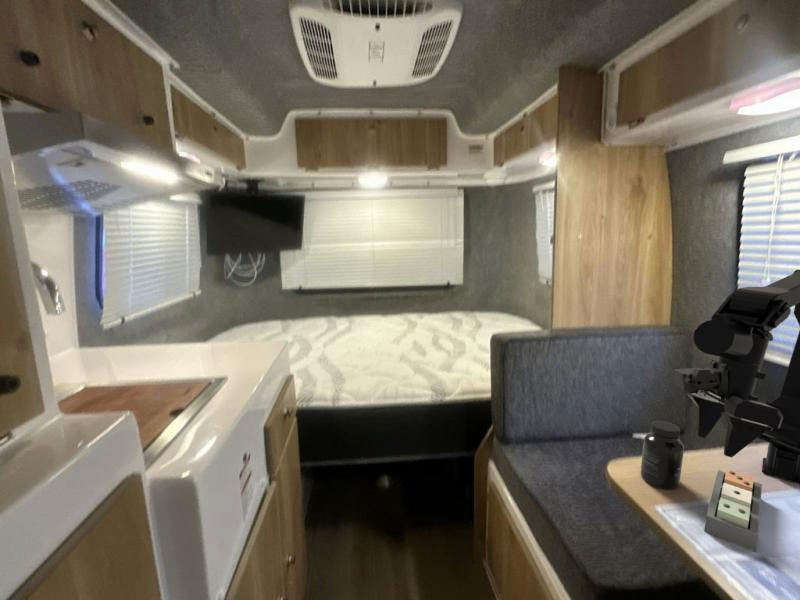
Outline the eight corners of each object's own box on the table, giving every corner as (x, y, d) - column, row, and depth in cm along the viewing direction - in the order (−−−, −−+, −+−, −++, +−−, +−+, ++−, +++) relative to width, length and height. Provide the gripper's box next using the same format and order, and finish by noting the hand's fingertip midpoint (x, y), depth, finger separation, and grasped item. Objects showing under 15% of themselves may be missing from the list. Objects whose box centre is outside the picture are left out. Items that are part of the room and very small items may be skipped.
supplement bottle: (686, 492, 79) (693, 436, 77) (647, 488, 80) (653, 433, 78) (670, 471, 85) (676, 419, 83) (635, 468, 87) (640, 416, 84)
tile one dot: (721, 494, 75) (723, 482, 75) (750, 504, 73) (752, 491, 72) (719, 505, 73) (721, 492, 72) (748, 516, 70) (750, 503, 69)
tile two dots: (718, 510, 71) (720, 497, 71) (748, 521, 69) (750, 507, 68) (715, 522, 69) (717, 508, 68) (746, 534, 66) (748, 520, 65)
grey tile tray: (716, 483, 81) (718, 470, 81) (759, 498, 77) (762, 484, 76) (704, 531, 69) (706, 515, 69) (755, 551, 65) (757, 535, 64)
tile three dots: (725, 480, 79) (726, 468, 79) (751, 489, 77) (753, 477, 76) (722, 490, 76) (724, 478, 76) (750, 500, 74) (752, 487, 73)
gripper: (667, 342, 81) (645, 416, 82) (714, 356, 63) (686, 451, 64) (730, 357, 78) (707, 433, 79) (798, 377, 60) (767, 475, 61)
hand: (713, 446), depth 71 cm, fingers open, 9 cm apart
